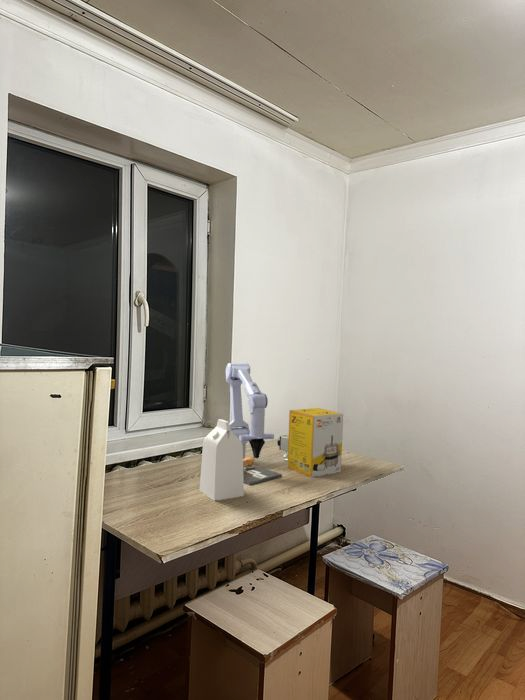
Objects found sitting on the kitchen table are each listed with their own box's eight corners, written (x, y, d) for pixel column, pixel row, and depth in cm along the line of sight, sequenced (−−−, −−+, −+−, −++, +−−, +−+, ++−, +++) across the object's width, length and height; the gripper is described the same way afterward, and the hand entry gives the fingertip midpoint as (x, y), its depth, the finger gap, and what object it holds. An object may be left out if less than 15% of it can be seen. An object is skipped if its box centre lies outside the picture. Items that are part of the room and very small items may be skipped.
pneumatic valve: (297, 464, 210) (298, 437, 210) (276, 459, 217) (277, 433, 217) (304, 462, 214) (305, 435, 214) (283, 457, 222) (284, 431, 221)
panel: (215, 473, 192) (215, 468, 192) (247, 465, 205) (248, 461, 205) (249, 485, 178) (249, 480, 178) (281, 476, 191) (282, 471, 191)
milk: (243, 495, 166) (246, 422, 165) (214, 501, 160) (216, 424, 159) (227, 486, 176) (229, 416, 176) (199, 490, 170) (201, 418, 169)
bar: (248, 462, 201) (248, 456, 201) (256, 464, 199) (256, 457, 199) (224, 470, 188) (224, 463, 188) (232, 472, 186) (232, 465, 186)
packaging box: (315, 462, 214) (317, 407, 213) (340, 472, 200) (343, 413, 199) (287, 467, 204) (289, 410, 204) (311, 477, 191) (313, 416, 190)
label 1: (246, 472, 192) (246, 471, 192) (252, 470, 194) (252, 469, 194) (254, 474, 188) (254, 473, 188) (261, 473, 191) (261, 472, 191)
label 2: (252, 475, 187) (252, 475, 187) (258, 474, 189) (258, 473, 189) (261, 478, 183) (261, 478, 183) (267, 477, 186) (267, 476, 186)
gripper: (244, 426, 183) (243, 461, 183) (277, 424, 189) (276, 458, 189) (237, 423, 189) (236, 457, 189) (270, 421, 195) (269, 454, 195)
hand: (256, 457), depth 190 cm, fingers closed
